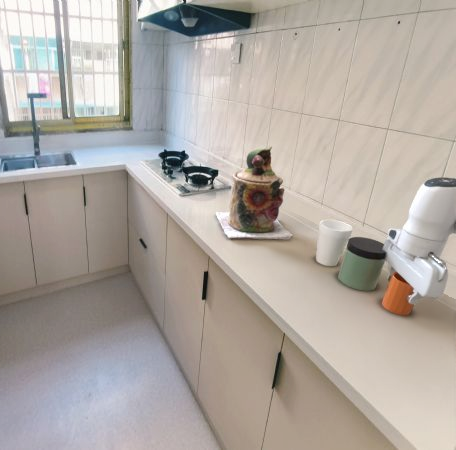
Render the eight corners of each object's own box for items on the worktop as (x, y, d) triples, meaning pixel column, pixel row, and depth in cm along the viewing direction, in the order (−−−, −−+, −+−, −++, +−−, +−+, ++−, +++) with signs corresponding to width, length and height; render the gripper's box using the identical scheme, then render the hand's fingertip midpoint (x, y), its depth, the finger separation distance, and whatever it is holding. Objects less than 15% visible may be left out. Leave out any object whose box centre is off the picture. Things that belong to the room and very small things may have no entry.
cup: (401, 301, 92) (413, 273, 88) (415, 316, 86) (428, 286, 82) (377, 299, 92) (387, 270, 89) (389, 314, 87) (400, 284, 83)
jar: (366, 273, 105) (377, 240, 100) (382, 292, 96) (395, 256, 91) (332, 270, 106) (342, 237, 101) (345, 289, 96) (356, 253, 92)
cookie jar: (213, 215, 145) (222, 139, 132) (269, 215, 147) (283, 141, 134) (228, 240, 123) (240, 152, 110) (293, 241, 124) (313, 154, 111)
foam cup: (313, 251, 117) (321, 217, 112) (342, 259, 113) (353, 223, 107) (309, 263, 109) (318, 226, 104) (340, 271, 105) (351, 234, 100)
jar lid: (376, 244, 101) (378, 238, 100) (394, 261, 91) (396, 254, 91) (341, 241, 102) (342, 235, 101) (355, 257, 92) (357, 251, 92)
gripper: (465, 267, 72) (440, 319, 77) (409, 228, 91) (392, 272, 96) (433, 264, 72) (411, 316, 78) (385, 226, 91) (369, 270, 97)
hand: (400, 291), depth 87 cm, fingers open, 8 cm apart
